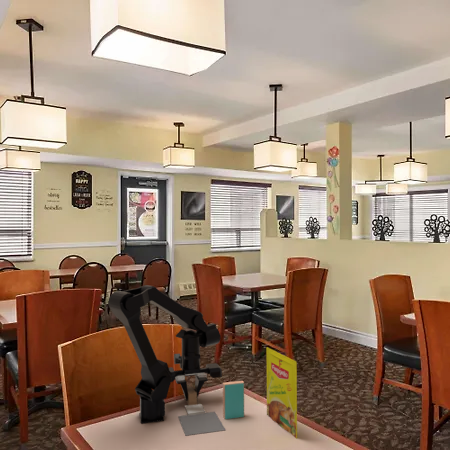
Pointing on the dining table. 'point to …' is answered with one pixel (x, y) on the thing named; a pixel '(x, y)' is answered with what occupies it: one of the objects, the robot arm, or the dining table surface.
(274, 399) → the food package
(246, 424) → the dining table surface
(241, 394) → the tile
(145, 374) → the robot arm
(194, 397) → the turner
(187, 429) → the mat
